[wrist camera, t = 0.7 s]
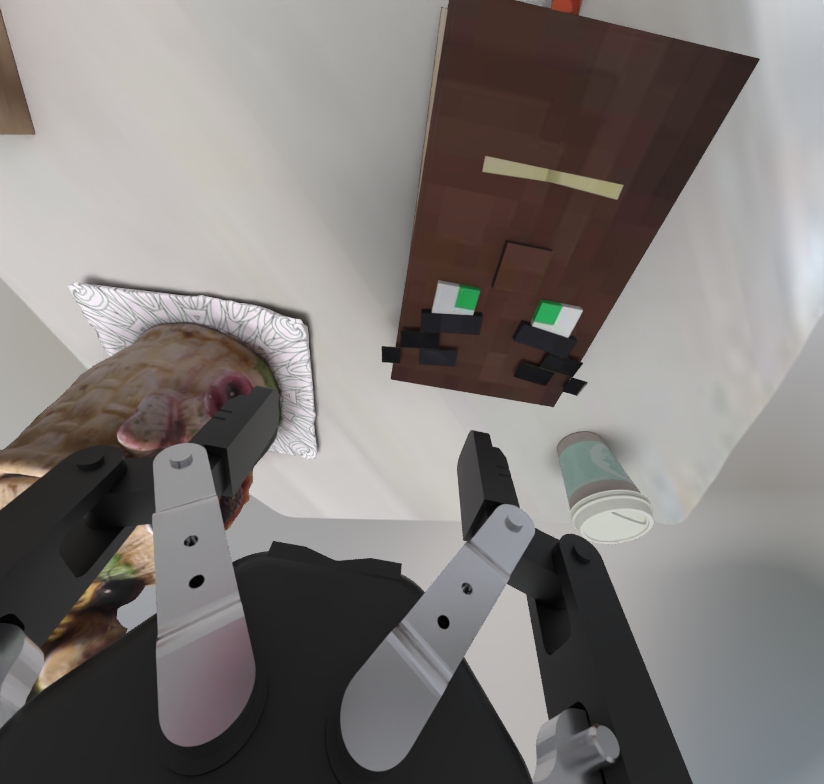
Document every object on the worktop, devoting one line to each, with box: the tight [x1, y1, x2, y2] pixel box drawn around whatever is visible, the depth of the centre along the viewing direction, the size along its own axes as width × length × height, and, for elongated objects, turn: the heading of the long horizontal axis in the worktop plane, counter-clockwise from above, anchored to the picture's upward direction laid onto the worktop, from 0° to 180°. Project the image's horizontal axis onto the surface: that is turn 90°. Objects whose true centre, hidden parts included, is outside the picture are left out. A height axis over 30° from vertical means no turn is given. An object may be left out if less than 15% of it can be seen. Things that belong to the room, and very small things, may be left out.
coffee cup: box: [557, 432, 654, 544], centre depth 40 cm, size 8×8×12 cm
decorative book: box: [382, 0, 760, 407], centre depth 27 cm, size 19×8×30 cm
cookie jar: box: [0, 282, 317, 704], centre depth 29 cm, size 25×25×32 cm
